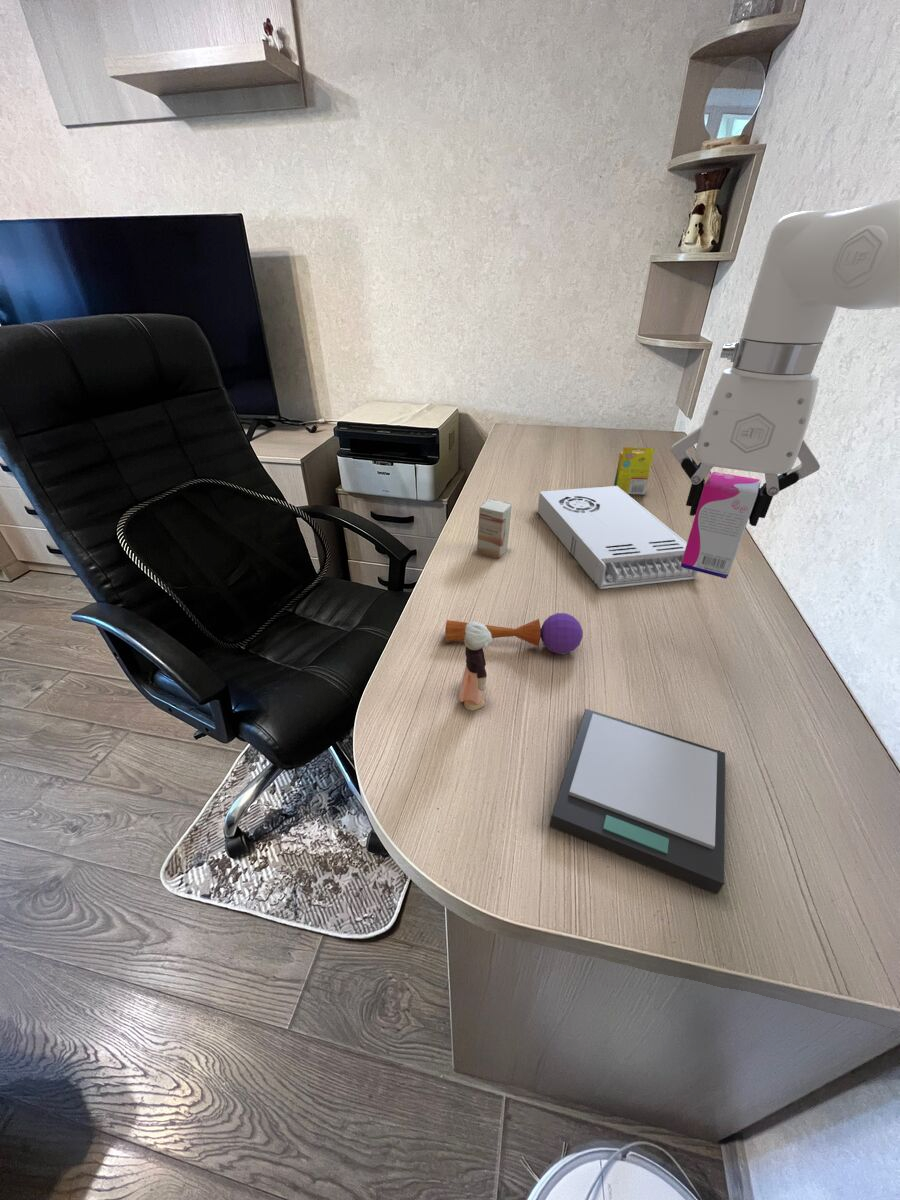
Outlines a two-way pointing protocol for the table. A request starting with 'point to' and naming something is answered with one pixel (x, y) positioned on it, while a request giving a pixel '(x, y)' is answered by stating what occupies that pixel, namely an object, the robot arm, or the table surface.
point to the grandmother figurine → (474, 665)
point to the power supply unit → (614, 537)
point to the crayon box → (633, 470)
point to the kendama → (532, 632)
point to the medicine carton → (493, 528)
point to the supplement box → (720, 523)
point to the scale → (646, 798)
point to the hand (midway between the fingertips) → (722, 515)
